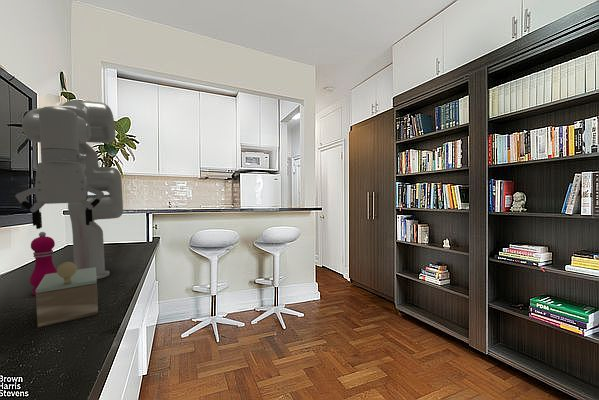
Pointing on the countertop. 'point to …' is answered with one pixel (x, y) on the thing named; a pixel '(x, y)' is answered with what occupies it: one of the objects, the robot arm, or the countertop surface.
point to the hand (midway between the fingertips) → (64, 226)
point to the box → (66, 304)
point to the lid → (67, 278)
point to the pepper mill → (42, 259)
